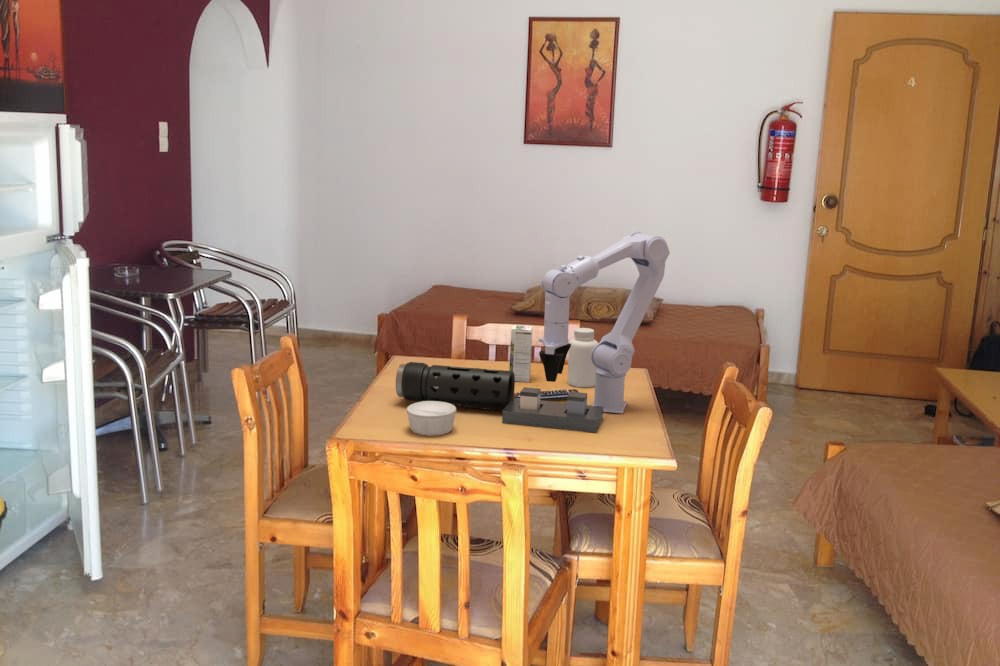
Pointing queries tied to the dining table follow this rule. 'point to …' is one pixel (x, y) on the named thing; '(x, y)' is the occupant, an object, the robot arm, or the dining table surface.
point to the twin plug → (577, 403)
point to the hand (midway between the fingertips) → (554, 377)
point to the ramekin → (431, 417)
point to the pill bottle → (581, 358)
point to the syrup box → (521, 352)
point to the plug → (530, 398)
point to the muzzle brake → (456, 385)
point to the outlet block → (553, 416)
